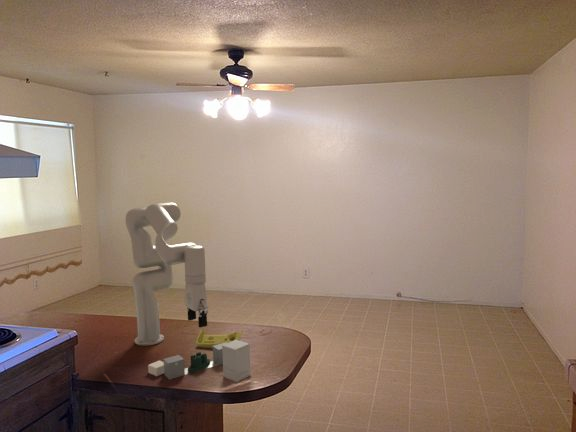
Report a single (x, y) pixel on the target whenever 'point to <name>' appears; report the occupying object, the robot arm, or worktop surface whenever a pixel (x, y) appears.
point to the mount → (198, 362)
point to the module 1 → (174, 367)
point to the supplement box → (236, 360)
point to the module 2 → (218, 353)
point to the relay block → (156, 368)
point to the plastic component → (216, 339)
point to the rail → (204, 368)
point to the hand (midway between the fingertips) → (197, 323)
